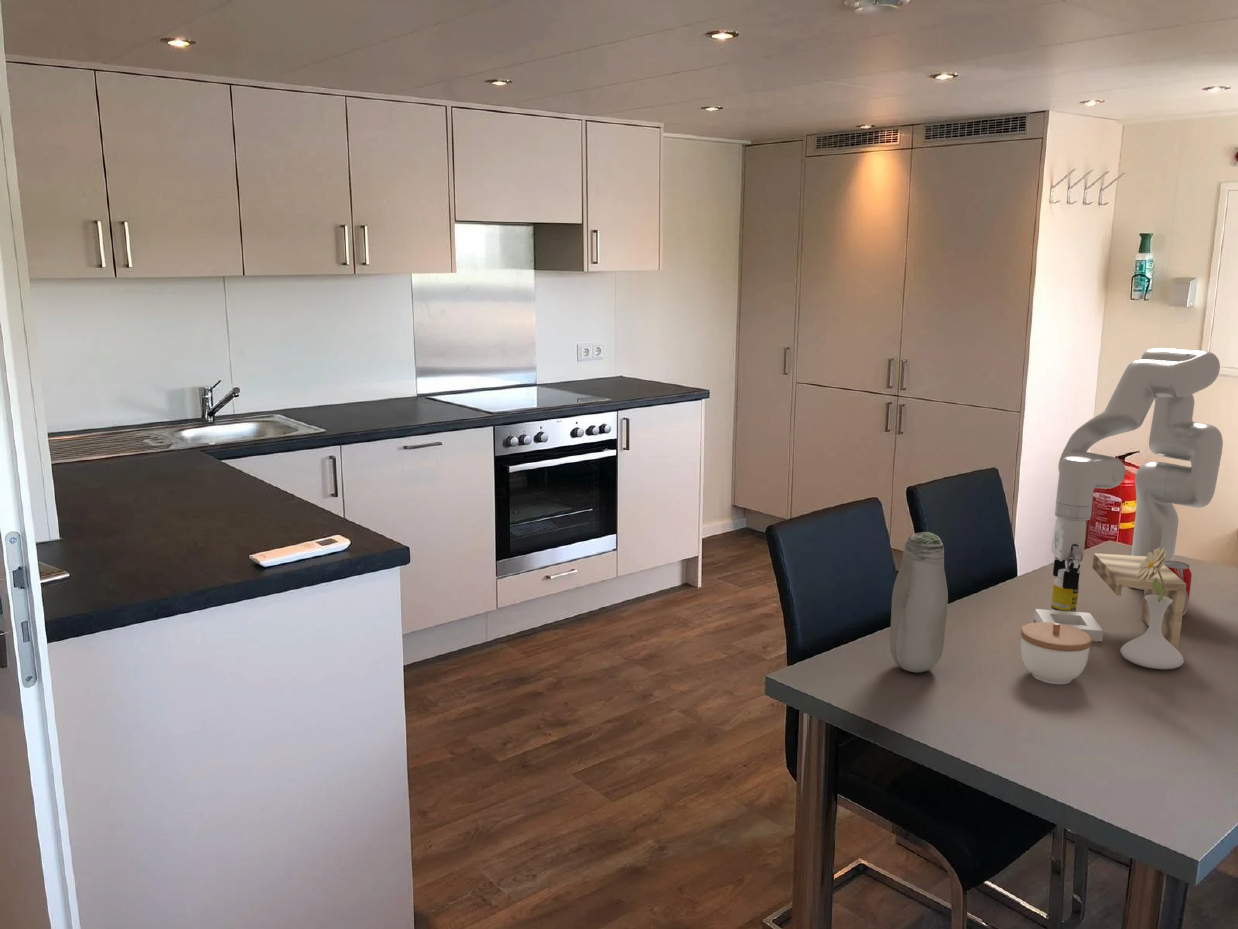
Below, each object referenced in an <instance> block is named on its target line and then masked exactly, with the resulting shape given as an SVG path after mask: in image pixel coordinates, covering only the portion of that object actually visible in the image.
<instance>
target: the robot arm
mask: <svg viewBox="0 0 1238 929" xmlns="http://www.w3.org/2000/svg"><path fill="white" fill-rule="evenodd" d="M1220 363H1221V362H1220V359H1219V358H1218V357H1217V355H1216V354H1215V353H1213V352H1211V351H1205V350H1197V349H1196V350H1193V349H1182V348H1169V347H1156V348H1150V349H1147V350H1146V351H1145V352H1143V354H1142V356H1141V358H1140V359H1137V360H1133V361H1132V362H1130V363H1129V364H1127V366H1126V368H1125V369H1124V371H1123V373H1122V376H1121V377H1120V379H1119V380H1118V384H1117V385H1116V388H1115V390H1114V392H1113V394H1112V395H1111V398H1110V400H1109V402H1108V403H1107V405H1106V408H1105V409H1104V410H1103V411H1102V412H1101V413H1100V414H1097V415H1096V416H1094V417H1092V418H1091V419H1089V420H1088V421H1087V422H1085V423H1084V424H1082V425H1081V426H1079V427H1078V428H1077V429H1076V430H1075V431H1074V432H1073V433H1072V434H1071V436H1070V437H1069V439H1068V441H1067V443H1066V445H1065V447H1064V448H1063V450H1062V453H1061V455H1060V457H1059V461H1058V464H1057V465H1058V467H1057V468H1058V470H1057V471H1058V482H1057V488H1056V491H1057V492H1056V498H1055V499H1056V501H1055V507H1054V508H1055V509H1054V516H1055V518H1056V519H1055V524H1054V528H1053V536H1052V542H1051V543H1052V544H1051V552H1052V554H1053V555H1054V561H1053V569H1052V570H1053V572H1052V575H1053V577H1057V578H1059V577H1058V570H1060V569H1066V571H1064V576H1063V585H1062V587H1063V588H1064V589H1075V590H1077V589H1078V583H1079V582H1080V574H1081V562H1082V561H1083V559H1084V552H1085V541H1086V530H1087V529H1086V527H1087V521H1089V520H1091V517H1092V507H1093V500H1094V491H1095V489H1103V490H1104V489H1105V490H1107V489H1112V488H1116V487H1118V486H1119V485H1120V484H1121V483H1123V481H1124V479H1125V476H1126V466H1125V464H1124V462H1123V461H1121V460H1120V459H1119V458H1117V457H1114V456H1110V455H1106V454H1100V453H1095V452H1088V451H1089V449H1090V448H1091V447H1093V445H1094V444H1097V442H1100V441H1101V440H1104V439H1106V438H1109V437H1113V436H1118V435H1122V434H1125V433H1129V432H1131V431H1132V432H1133V431H1135V430H1138V429H1139V428H1140V427H1141V426H1142V425H1143V423H1144V421H1145V419H1146V417H1147V414H1148V412H1149V410H1150V409H1151V407H1152V404H1153V402H1154V405H1153V406H1154V407H1153V408H1154V409H1153V414H1152V420H1151V425H1150V426H1151V427H1150V431H1149V432H1150V433H1149V438H1148V440H1149V441H1148V447H1149V450H1150V452H1151V453H1152V454H1154V455H1156V456H1159V457H1162V458H1163V457H1164V458H1168V459H1175V460H1179V461H1185V462H1190V463H1191V465H1190V466H1187V465H1180V464H1175V463H1170V462H1163V461H1150V462H1146V463H1144V464H1142V465H1141V466H1140V467H1138V469H1137V470H1136V474H1135V478H1134V479H1135V480H1134V482H1135V483H1134V485H1135V486H1134V487H1135V493H1136V494H1135V496H1136V505H1135V506H1136V507H1135V520H1134V528H1133V529H1134V530H1133V536H1132V546H1131V554H1130V556H1147V555H1148V553H1150V552H1151V553H1152V555H1153V552H1154V550H1155V549H1157V548H1160V551H1161V550H1162V549H1163V548H1164V551H1166V553H1165V554H1166V557H1165V558H1166V560H1165V561H1175V560H1174V559H1175V553H1176V545H1177V538H1178V528H1179V516H1178V512H1177V511H1176V507H1175V506H1174V505H1178V506H1183V507H1190V508H1195V509H1196V508H1197V509H1199V508H1205V507H1206V506H1208V505H1209V504H1210V503H1211V501H1212V500H1213V497H1214V494H1215V491H1216V487H1217V480H1218V475H1219V470H1220V466H1221V460H1222V454H1223V446H1224V444H1223V443H1224V440H1223V436H1222V433H1221V431H1220V430H1219V428H1218V427H1217V426H1214V425H1212V424H1209V423H1205V422H1202V423H1201V422H1195V421H1193V417H1194V416H1193V415H1194V409H1195V397H1194V394H1196V393H1199V392H1200V391H1202V390H1204V389H1207V388H1208V387H1210V386H1212V385H1213V383H1214V382H1216V380H1217V379H1218V376H1219V374H1220V371H1221V364H1220ZM1135 589H1136V590H1137V589H1138V590H1141V591H1144V589H1145V588H1135Z"/></svg>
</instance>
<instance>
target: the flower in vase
mask: <svg viewBox="0 0 1238 929" xmlns="http://www.w3.org/2000/svg"><path fill="white" fill-rule="evenodd" d="M1165 553H1166V551H1164V548H1163V549H1162V550H1161V551H1160V548H1157V549H1155V550H1154V552H1153V555H1152V553H1151V552H1150V553H1148V555H1147V557H1146V558H1145V562H1144V563H1141V564H1140V566H1139V567H1140V568H1142V569H1141V570H1140V571H1138V574H1137V575H1136V577H1140V578H1139V579H1138V581H1141V582H1143V581H1145V582H1146V581H1147V580H1148V579H1149V580H1150V579H1151V578H1152V577H1153V576H1155V575H1156V573H1157V572H1158V574H1159V576H1160V579H1161V582H1162V585H1161V583H1160V582H1159V581H1158V579H1157V578H1155V579H1154V581H1153V582H1152V587H1153V588H1154V589H1155V590H1156V591H1157V592H1158V593H1159V595H1146V596H1145V597H1144V596H1143V598H1145V599H1146V601H1147V603H1148V606H1149V611H1150V621H1149V627H1148V626H1147V627H1148V628H1147V630H1146V631H1145V633H1143V634H1141V635H1139V636H1137V637H1135V638H1133V639H1131V640H1129V641H1127V642H1126V643H1125V644H1123V645H1122V646H1121V648H1120V654H1121V655H1122V657H1123V658H1124V659H1125V660H1127V661H1129V662H1131V663H1133V664H1135V665H1137V666H1140V667H1145V668H1148V669H1154V670H1155V669H1156V670H1172V669H1177V668H1179V667H1180V666H1182V665H1183V664H1184V662H1185V661H1184V657H1183V654H1182V653H1181V652H1180V650H1179V649H1178V650H1177V649H1176V648H1175V647H1174V646H1173V645H1172V644H1170V643H1169V642H1168V641H1167V640H1166V639H1165V638H1164V636H1163V635H1162V630H1161V627H1162V620H1163V616H1164V613H1165V610H1166V609H1167V607H1168V606H1169V605H1170V604H1171V603H1172V602H1173V600H1172V599H1170V598H1168V597H1164V596H1163V593H1164V592H1165V590H1166V588H1164V582H1163V578H1162V576H1161V573H1160V570H1161V567H1162V566H1163V564H1164V562H1165V560H1166V558H1165V557H1166V554H1165Z"/></svg>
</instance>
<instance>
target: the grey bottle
mask: <svg viewBox="0 0 1238 929" xmlns="http://www.w3.org/2000/svg"><path fill="white" fill-rule="evenodd" d="M944 548H945V547H944V544H943V542H942V540H941V538H940V536H938V535H937V534H934V533H933V532H929V531H922V532H916V533H913V534H912V535H910V536H909V537H908V538H907V540H906V541H905V543H904V545H903V552H902V557H901V562H900V565H899V570H898V571H897V575H896V578H895V581H894V584H893V587H892V589H893V590H892V594H891V595H892V596H891V612H890V613H891V614H890V631H889V632H890V633H889V634H890V635H889V648H890V653H891V656H892V659H893V661H894V662H895V664H896V665H897V666H898V667H899V668H901V669H903V671H904V670H905V671H907V672H909V673H910V672H911V673H924V672H927V671H930V670H932V669H934V668H935V667H936V666H937V664H938V663H939V662H940V659H941V657H942V655H943V653H944V652H943V651H944V646H945V632H946V622H947V615H948V613H947V612H948V603H949V595H948V594H949V593H948V585H947V579H946V572H945V549H944Z"/></svg>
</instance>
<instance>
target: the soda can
mask: <svg viewBox="0 0 1238 929" xmlns="http://www.w3.org/2000/svg"><path fill="white" fill-rule="evenodd" d="M1164 565H1165V566H1166V567H1167V568H1169V569H1170V570H1171V571H1172V572H1173V573H1174V574H1175V575H1177V576H1178V577H1179V578H1180V579H1181V580H1182V581H1183V582H1185V583H1186V592H1185V600H1184V608H1183V616H1184V615H1186V614H1187V610H1188V607H1189V602H1190V594H1191V584H1192V572H1191V568H1190V567H1191V566H1190V565H1189V564H1188V563H1185V562H1183V561H1182V562H1181V561H1176V560H1174V561H1165V562H1164Z"/></svg>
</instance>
